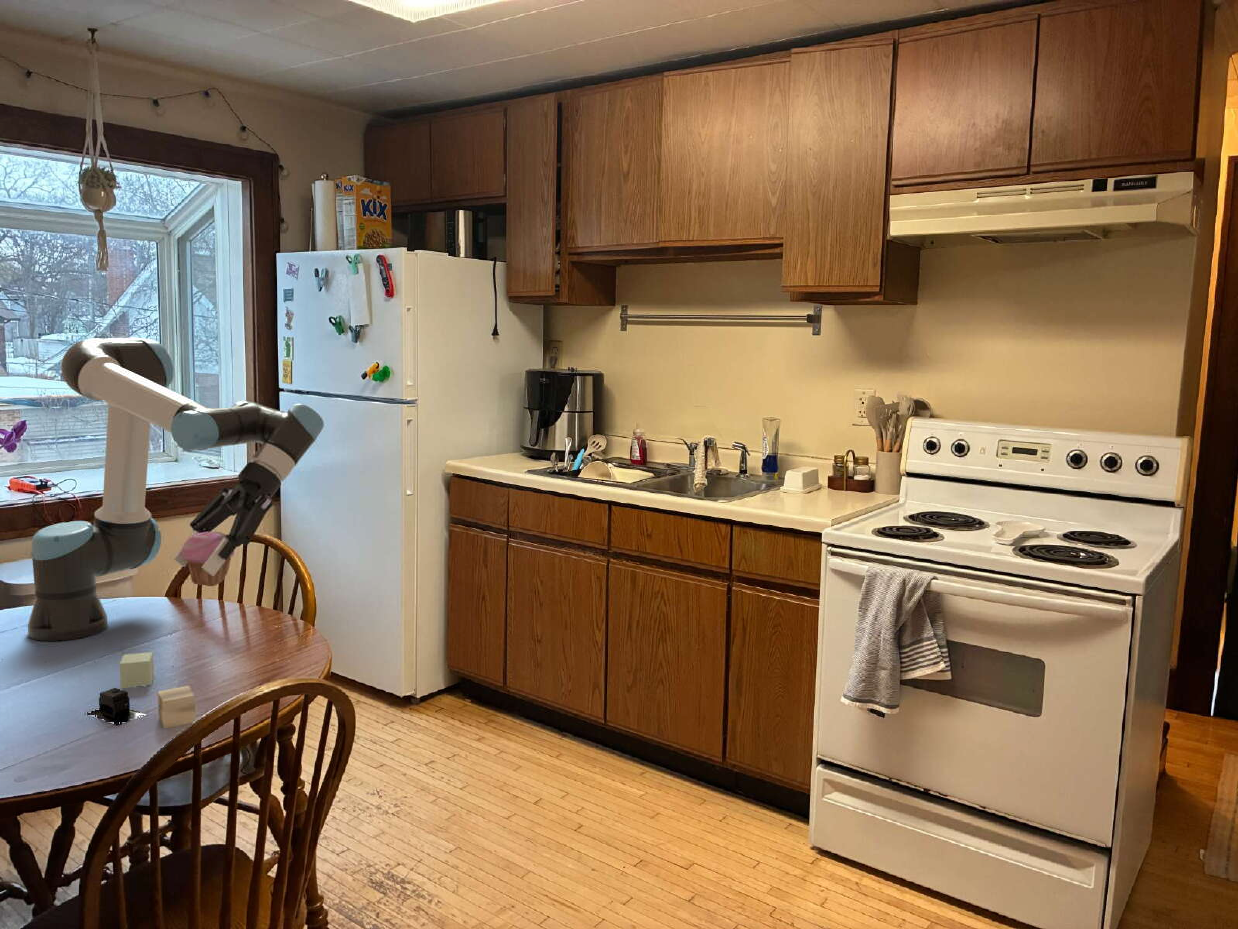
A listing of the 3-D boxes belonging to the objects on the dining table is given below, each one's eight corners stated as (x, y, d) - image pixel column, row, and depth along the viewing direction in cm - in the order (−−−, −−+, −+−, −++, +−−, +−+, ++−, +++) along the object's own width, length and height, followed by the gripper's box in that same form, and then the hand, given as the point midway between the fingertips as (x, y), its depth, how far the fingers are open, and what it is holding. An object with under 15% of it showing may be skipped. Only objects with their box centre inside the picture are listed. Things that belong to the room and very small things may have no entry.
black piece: (156, 718, 164) (155, 693, 164) (117, 733, 158) (116, 707, 157) (111, 702, 170) (110, 678, 169) (72, 717, 164) (70, 692, 163)
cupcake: (173, 586, 173) (170, 534, 171) (207, 575, 181) (205, 524, 180) (212, 592, 170) (210, 538, 169) (245, 580, 178) (243, 529, 177)
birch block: (159, 718, 163) (157, 691, 162) (190, 712, 166) (188, 685, 165) (164, 729, 159) (162, 701, 158) (195, 722, 162) (194, 695, 161)
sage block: (125, 679, 180) (124, 654, 179) (154, 676, 181) (152, 652, 181) (121, 689, 175) (119, 663, 174) (150, 686, 177) (149, 661, 176)
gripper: (312, 490, 179) (240, 588, 169) (245, 477, 192) (174, 568, 181) (288, 466, 174) (212, 566, 164) (221, 454, 186) (146, 546, 176)
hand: (192, 567), depth 172 cm, fingers closed on cupcake, 9 cm apart
